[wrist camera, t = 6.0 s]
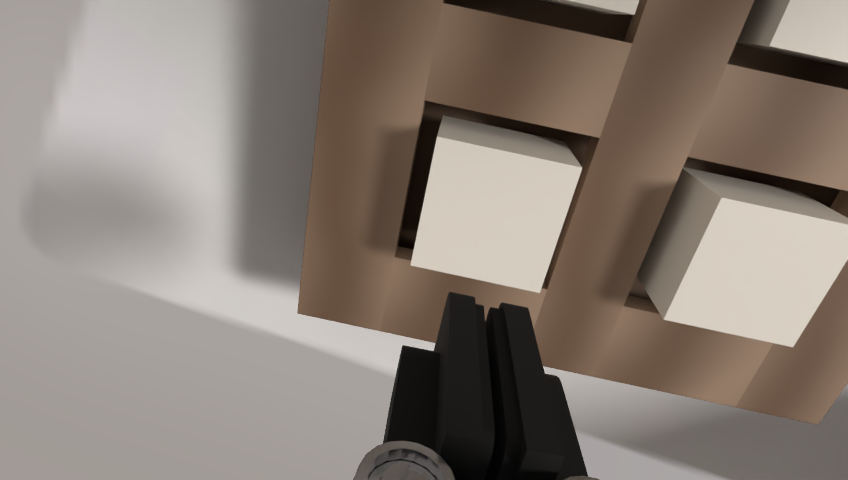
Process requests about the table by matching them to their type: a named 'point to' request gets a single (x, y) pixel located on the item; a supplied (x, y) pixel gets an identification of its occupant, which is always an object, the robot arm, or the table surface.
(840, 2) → the button
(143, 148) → the table surface
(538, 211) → the button
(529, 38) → the board
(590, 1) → the button
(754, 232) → the button
